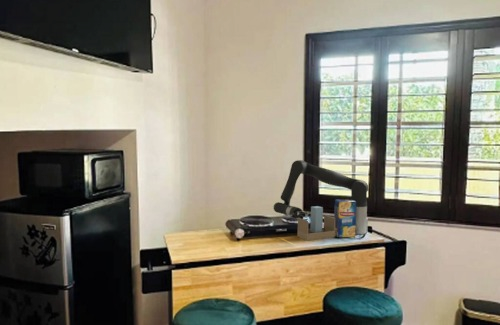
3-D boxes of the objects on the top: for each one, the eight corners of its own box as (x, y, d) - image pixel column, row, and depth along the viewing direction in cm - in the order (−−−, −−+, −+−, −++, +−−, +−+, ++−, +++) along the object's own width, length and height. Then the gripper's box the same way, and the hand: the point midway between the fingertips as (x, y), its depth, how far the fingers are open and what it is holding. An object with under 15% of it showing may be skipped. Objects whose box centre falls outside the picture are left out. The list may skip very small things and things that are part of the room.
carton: (324, 234, 234) (324, 215, 233) (334, 238, 225) (335, 218, 224) (297, 237, 225) (297, 217, 224) (307, 241, 216) (307, 221, 215)
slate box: (316, 235, 228) (317, 206, 227) (322, 237, 224) (322, 207, 223) (310, 236, 226) (311, 206, 225) (315, 238, 222) (316, 208, 221)
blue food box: (355, 237, 228) (356, 201, 226) (338, 238, 226) (339, 201, 224) (350, 234, 234) (351, 199, 233) (333, 235, 232) (334, 199, 231)
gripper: (284, 207, 243) (298, 211, 229) (303, 205, 249) (318, 210, 235) (284, 218, 244) (298, 224, 229) (303, 217, 250) (317, 222, 235)
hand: (308, 217), depth 232 cm, fingers open, 8 cm apart
